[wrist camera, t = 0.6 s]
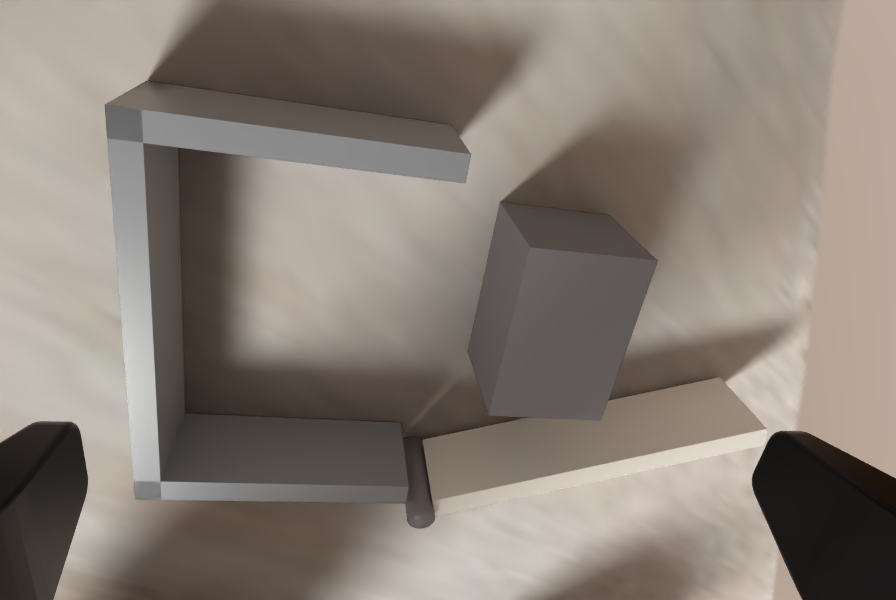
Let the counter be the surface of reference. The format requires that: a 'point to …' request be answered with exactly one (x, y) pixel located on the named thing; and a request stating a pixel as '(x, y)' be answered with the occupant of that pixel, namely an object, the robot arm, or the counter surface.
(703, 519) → the counter surface
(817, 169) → the counter surface
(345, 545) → the counter surface
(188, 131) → the grey angular u-shape
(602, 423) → the cover
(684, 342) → the counter surface
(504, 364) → the tilted gray brick
